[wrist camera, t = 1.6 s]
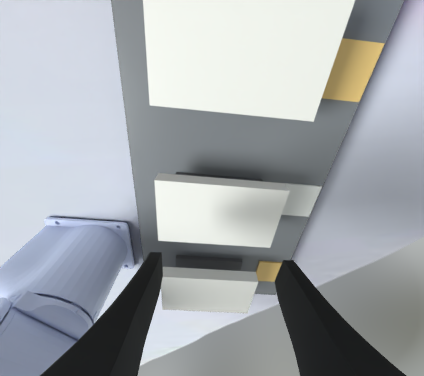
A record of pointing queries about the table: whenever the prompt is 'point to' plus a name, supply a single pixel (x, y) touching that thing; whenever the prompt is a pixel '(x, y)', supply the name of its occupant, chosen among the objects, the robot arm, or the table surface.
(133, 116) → the switch panel
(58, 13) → the table surface
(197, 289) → the switch
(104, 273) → the robot arm
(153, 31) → the switch
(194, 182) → the switch
